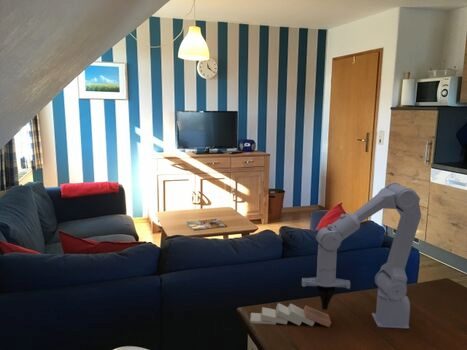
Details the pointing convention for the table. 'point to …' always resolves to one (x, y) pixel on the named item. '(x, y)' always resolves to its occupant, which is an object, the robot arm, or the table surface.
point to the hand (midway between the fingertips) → (324, 308)
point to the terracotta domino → (317, 316)
